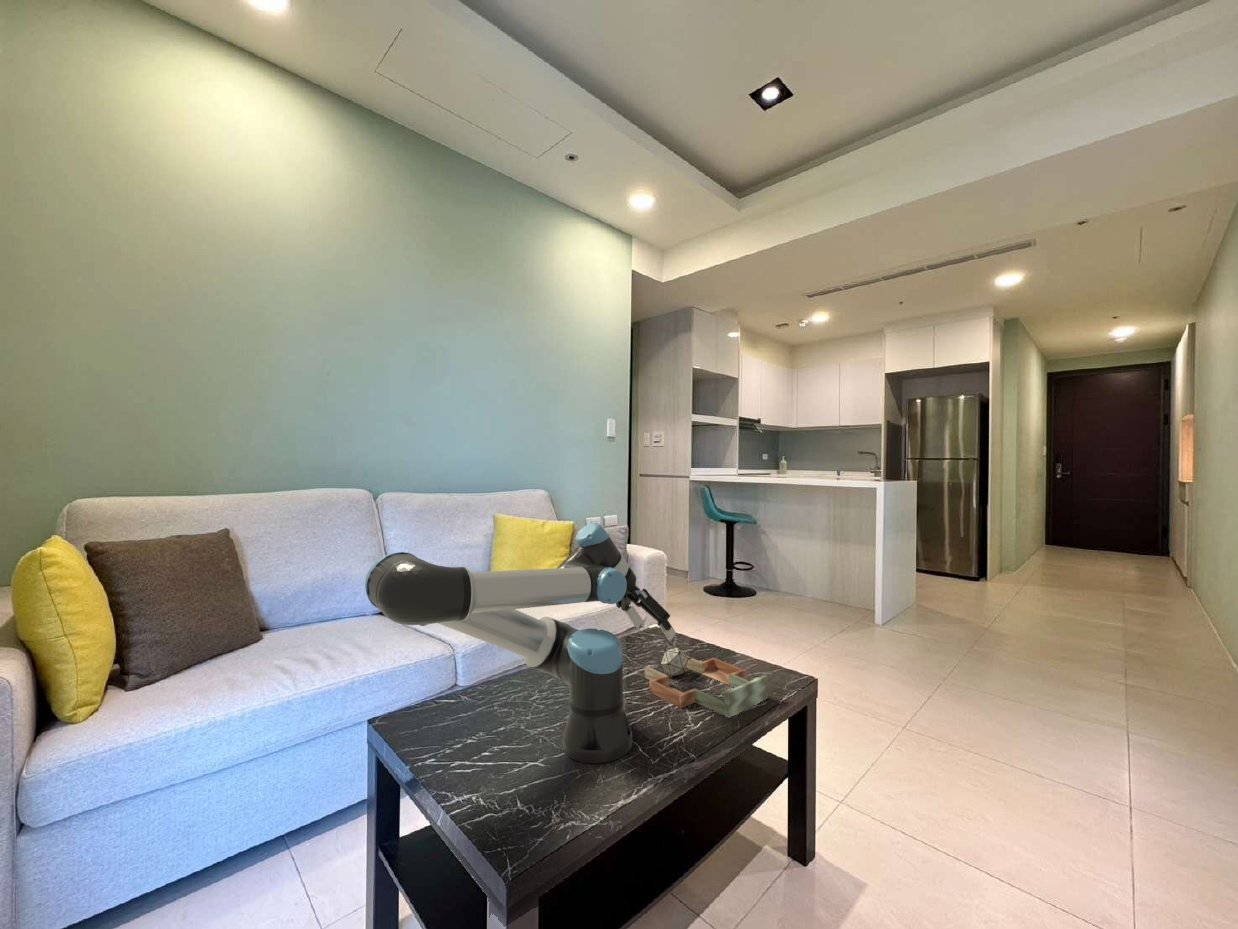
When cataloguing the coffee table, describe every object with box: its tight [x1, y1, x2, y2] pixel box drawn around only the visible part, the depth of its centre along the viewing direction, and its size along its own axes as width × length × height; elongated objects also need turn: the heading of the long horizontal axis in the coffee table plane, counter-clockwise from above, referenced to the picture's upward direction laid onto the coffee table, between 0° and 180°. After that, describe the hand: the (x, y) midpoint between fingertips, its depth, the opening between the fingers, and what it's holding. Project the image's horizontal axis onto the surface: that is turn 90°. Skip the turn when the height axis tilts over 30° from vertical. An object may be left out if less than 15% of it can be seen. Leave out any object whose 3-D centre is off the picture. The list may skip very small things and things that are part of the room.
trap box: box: [644, 655, 769, 719], centre depth 135 cm, size 25×31×6 cm
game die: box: [657, 644, 692, 680], centre depth 143 cm, size 9×8×10 cm
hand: (655, 630), depth 137 cm, fingers open, 13 cm apart
